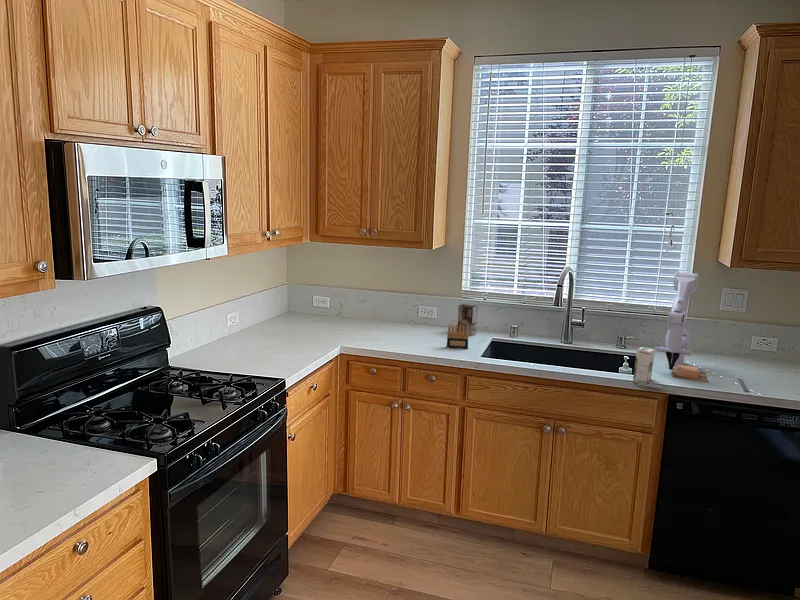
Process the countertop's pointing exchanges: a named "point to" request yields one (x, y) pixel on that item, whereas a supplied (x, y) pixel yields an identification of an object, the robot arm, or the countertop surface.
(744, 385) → the slate mat
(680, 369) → the terracotta tile
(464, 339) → the ammunition clip
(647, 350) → the syrup box
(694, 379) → the walnut deck
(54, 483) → the countertop surface
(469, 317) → the coffee box
